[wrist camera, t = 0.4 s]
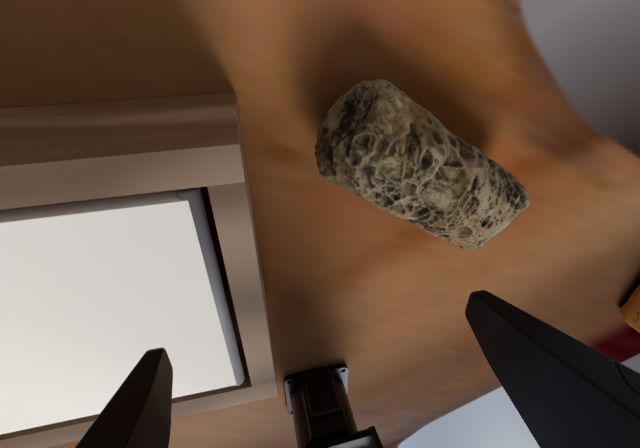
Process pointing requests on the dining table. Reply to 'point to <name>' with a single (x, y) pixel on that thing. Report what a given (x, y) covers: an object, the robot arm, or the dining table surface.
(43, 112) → the trapdoor frame
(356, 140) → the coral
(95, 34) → the dining table surface
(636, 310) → the coffee package
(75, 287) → the trapdoor
